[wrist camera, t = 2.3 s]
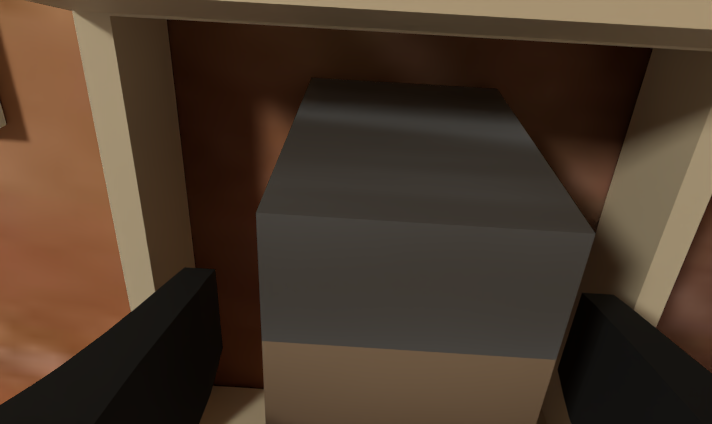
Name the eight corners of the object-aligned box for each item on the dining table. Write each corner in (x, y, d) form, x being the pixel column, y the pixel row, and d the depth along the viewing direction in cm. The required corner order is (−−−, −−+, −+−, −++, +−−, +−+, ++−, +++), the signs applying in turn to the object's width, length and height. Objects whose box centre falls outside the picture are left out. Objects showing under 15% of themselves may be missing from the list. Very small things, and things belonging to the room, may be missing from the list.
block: (447, 362, 15) (483, 593, 10) (308, 353, 15) (272, 579, 10) (497, 88, 12) (595, 234, 6) (311, 77, 12) (255, 212, 6)
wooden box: (552, 434, 17) (612, 613, 12) (192, 410, 17) (129, 580, 12) (712, -38, 10) (952, -3, 6) (125, -71, 10) (-55, -62, 6)
